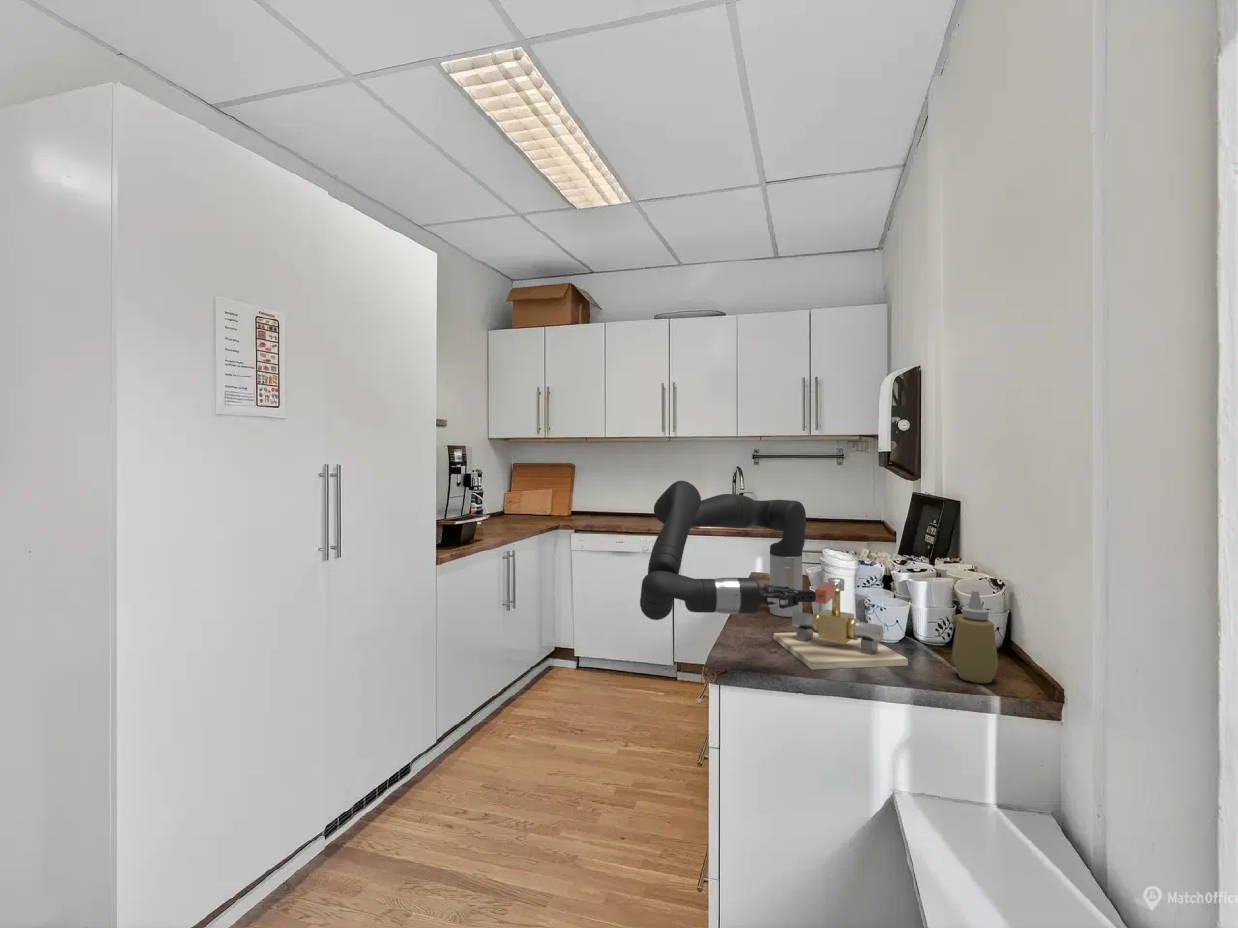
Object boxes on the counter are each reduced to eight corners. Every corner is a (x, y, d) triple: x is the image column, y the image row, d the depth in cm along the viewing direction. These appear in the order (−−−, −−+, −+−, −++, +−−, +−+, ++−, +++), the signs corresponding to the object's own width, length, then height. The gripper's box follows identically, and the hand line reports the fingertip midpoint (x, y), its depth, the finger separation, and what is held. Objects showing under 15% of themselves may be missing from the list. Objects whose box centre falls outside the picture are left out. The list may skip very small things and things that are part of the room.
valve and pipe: (790, 639, 144) (790, 586, 144) (799, 634, 148) (799, 582, 148) (877, 656, 131) (877, 598, 131) (884, 650, 136) (884, 593, 136)
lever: (829, 587, 142) (829, 575, 142) (845, 588, 140) (845, 576, 140) (811, 602, 127) (811, 589, 127) (829, 604, 125) (829, 590, 125)
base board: (773, 638, 150) (773, 633, 150) (856, 636, 152) (856, 630, 152) (811, 669, 128) (811, 662, 128) (907, 665, 130) (907, 658, 130)
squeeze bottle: (990, 674, 125) (991, 588, 125) (1004, 688, 117) (1004, 597, 117) (947, 670, 127) (948, 586, 127) (958, 683, 119) (958, 594, 119)
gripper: (742, 584, 120) (827, 584, 121) (727, 572, 133) (803, 572, 134) (742, 621, 120) (826, 621, 121) (726, 605, 133) (802, 606, 134)
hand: (813, 595), depth 127 cm, fingers closed
